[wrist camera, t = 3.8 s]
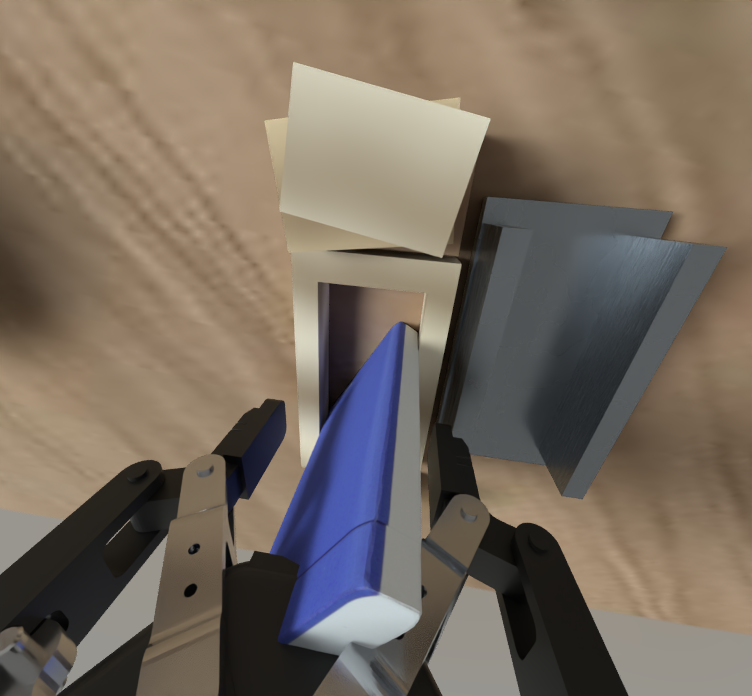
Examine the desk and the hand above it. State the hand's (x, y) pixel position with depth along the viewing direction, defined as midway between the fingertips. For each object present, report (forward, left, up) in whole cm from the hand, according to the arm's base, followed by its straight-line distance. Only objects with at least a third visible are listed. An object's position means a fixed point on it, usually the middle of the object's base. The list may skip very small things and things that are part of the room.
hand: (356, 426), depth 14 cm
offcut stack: (-10, 0, -4) cm, 11 cm away
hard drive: (0, 0, -5) cm, 5 cm away
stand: (-3, +8, -4) cm, 10 cm away
